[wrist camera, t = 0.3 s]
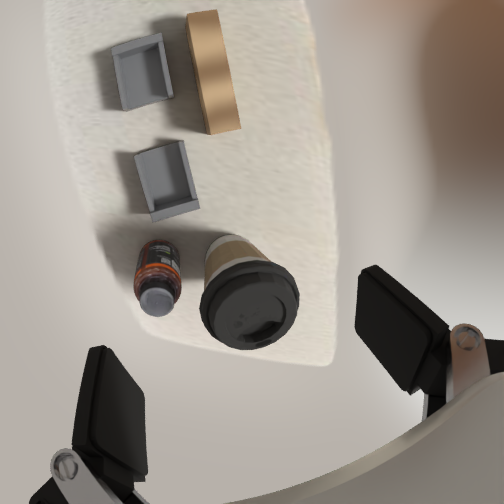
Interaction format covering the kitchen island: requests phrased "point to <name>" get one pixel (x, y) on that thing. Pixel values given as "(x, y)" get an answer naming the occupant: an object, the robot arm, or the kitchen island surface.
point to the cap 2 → (167, 181)
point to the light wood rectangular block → (212, 72)
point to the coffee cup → (246, 295)
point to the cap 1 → (142, 72)
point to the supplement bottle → (158, 278)
